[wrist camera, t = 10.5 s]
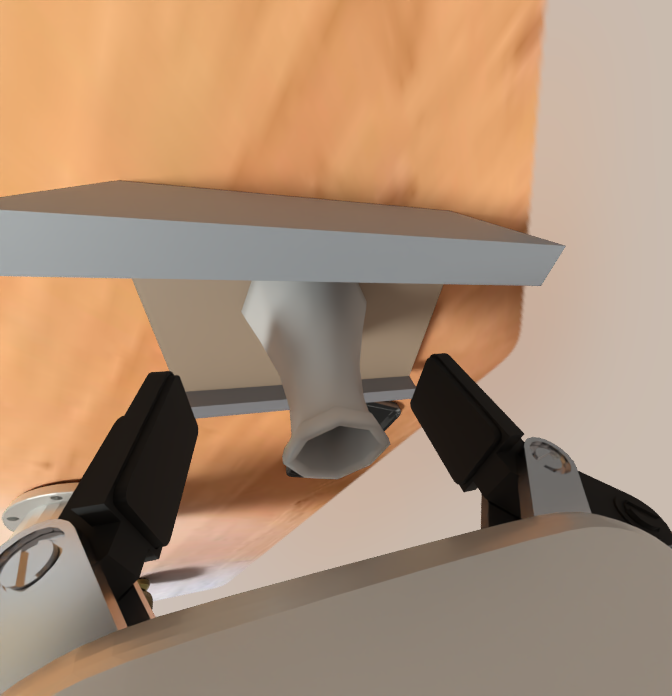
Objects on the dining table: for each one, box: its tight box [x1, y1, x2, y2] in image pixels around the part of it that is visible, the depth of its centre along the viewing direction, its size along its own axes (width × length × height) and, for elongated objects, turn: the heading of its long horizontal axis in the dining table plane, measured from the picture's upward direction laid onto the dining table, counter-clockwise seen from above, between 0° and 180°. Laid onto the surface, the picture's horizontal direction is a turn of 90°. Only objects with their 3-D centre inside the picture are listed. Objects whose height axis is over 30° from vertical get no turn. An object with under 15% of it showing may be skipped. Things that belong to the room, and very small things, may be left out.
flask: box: [241, 281, 390, 479], centre depth 11 cm, size 7×7×10 cm
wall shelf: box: [0, 180, 565, 419], centre depth 15 cm, size 14×18×8 cm
